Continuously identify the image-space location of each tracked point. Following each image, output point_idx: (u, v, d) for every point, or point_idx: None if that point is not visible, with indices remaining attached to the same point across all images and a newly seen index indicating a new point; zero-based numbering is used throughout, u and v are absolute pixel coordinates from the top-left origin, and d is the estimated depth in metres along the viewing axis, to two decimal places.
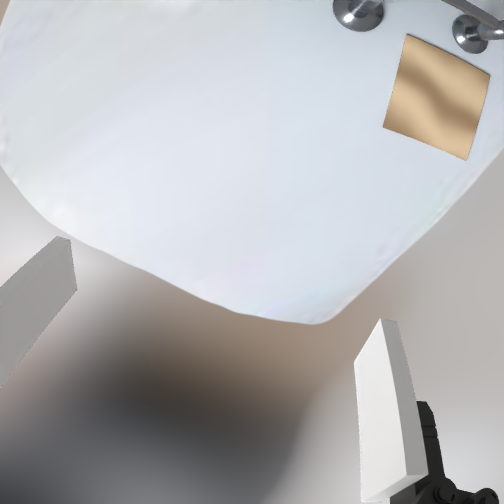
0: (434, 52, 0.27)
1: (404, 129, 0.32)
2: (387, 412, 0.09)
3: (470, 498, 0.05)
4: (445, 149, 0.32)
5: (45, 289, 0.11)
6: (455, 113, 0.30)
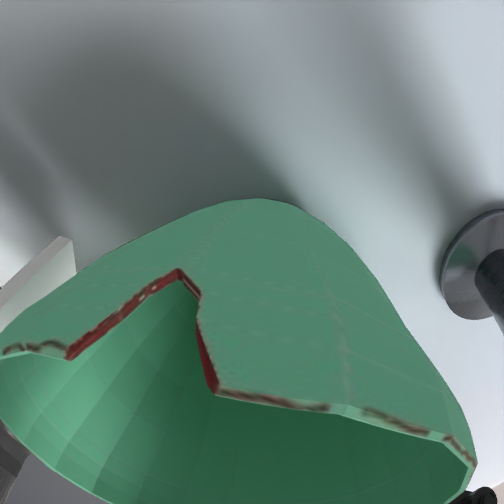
0: None
1: None
2: None
3: (468, 497, 0.05)
4: None
5: (47, 289, 0.11)
6: None
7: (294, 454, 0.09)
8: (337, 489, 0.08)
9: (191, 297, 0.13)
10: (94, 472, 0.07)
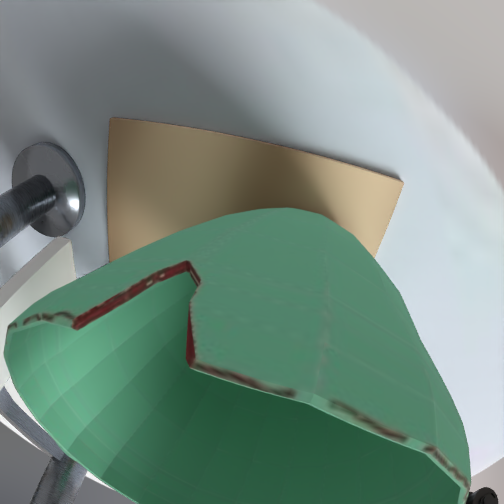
0: None
1: None
2: None
3: (469, 498, 0.05)
4: None
5: (46, 289, 0.11)
6: None
7: (307, 464, 0.09)
8: (344, 502, 0.07)
9: None
10: (106, 459, 0.08)
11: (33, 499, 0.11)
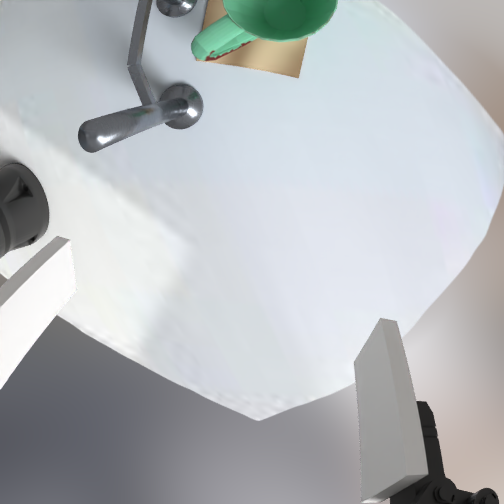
0: None
1: (297, 56, 0.31)
2: (387, 412, 0.09)
3: (470, 498, 0.05)
4: None
5: (45, 289, 0.11)
6: None
7: (303, 35, 0.24)
8: (319, 28, 0.23)
9: (259, 19, 0.28)
10: (234, 19, 0.22)
11: None
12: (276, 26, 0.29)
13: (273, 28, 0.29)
